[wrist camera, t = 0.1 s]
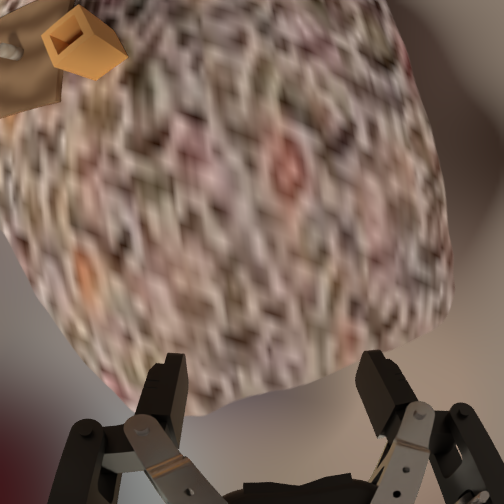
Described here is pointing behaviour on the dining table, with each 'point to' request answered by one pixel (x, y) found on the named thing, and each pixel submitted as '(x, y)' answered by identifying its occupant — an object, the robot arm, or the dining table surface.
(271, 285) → the dining table surface
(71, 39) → the sleeve
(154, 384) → the robot arm
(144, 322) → the dining table surface
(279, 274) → the dining table surface
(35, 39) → the base plate
